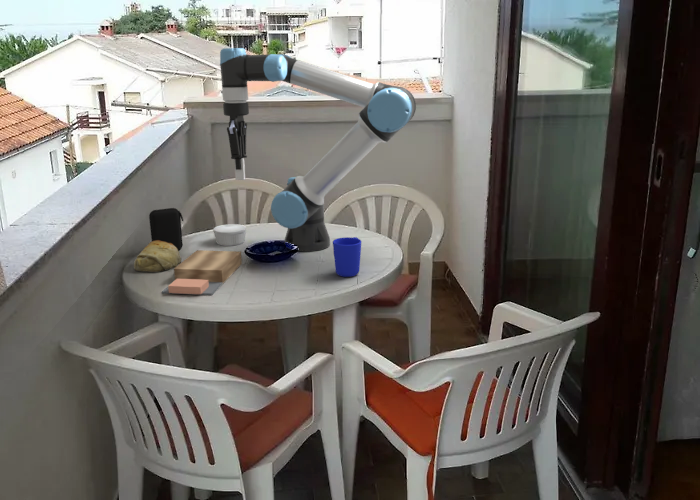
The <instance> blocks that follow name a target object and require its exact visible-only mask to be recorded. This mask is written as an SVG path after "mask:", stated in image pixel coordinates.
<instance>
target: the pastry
mask: <svg viewBox="0 0 700 500" xmlns="http://www.w3.org/2000/svg"><path fill="white" fill-rule="evenodd" d="M180 263H182V258H181V254H180V252H179V251H178V249H177V248H176V247H175V246H174V245H173V244H172V243H167V242H164V241H160V240H156V241H152V240H151V241H150V242H149V243H148V244H147V245H146V246H145V247H144V248H143V249H142V250H141V251H140V253H139V254H138V255H137V256H136V258H135V260H134V262H133V269H134V271H136V272H147V273H151V272H152V273H155V272H156V273H158V272H163V271H166V270H170V269H174V268H175V267H177V266H178V265H179V264H180Z"/></svg>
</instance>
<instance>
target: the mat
mask: <svg viewBox="0 0 700 500" xmlns="http://www.w3.org/2000/svg"><path fill="white" fill-rule="evenodd" d="M223 284H224V283H223V282H209V287H208V288H207V289H206V290H205V291H204V292H203V293H202V294H192V295H193V296H194V295H196V296H197V295H198V296H200V295H201V296H212V295H214V293H216V291H218V290H219V289H220V287H221V286H222V285H223ZM161 294H170V293H169V289H168V286H166V287H165V288H164V289H163V290H162V291H161ZM174 294H175V295H184V294H183V293H172V294H171V295H174Z"/></svg>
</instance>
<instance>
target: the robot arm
mask: <svg viewBox="0 0 700 500" xmlns="http://www.w3.org/2000/svg"><path fill="white" fill-rule="evenodd" d="M219 58H220V59H219V66H220V75H221V79H220V80H221V88H222V89H221V90H220V94H222V101H224V102H223V104H222V106H223V109H222V110H223V115H224V116H226V117H229V122H228V127H226V132H227V134H228V135H227V136H228V141H229V148H230V155H231V157H230V158H231V160H234V162H233V163H234V177H235V180H237V181H244V180H246V166H245V158H246V159H247V158H248V155H247V128H248V124H247V123H246V121H245V118H244V116H248V115H249V114H250V110H249V103H248V102H247V101H248V100H249V91H248V82H273V83H275V82H284V83H288V84H292V85H294V86H298V87H300V88H302V89H303V88H304V89H307V90H310V91H313V92H315V93H319V94H322V95H325V96H328V97H331V98H335V99H337V100H340V101H343V102H347V103H350V104H352V105H355V106H358V107H361V108H362V110H361V111H360V112H359V113H358V121H357V122H356V123H355V124H354V125H353V126H352V127H350V129H349V130H348V131H347V132H346V133H345V134H344V135H343V136H342V138H340V139H339V140H338V141H337V142H336V143H335V144H334V145H333V146H332V147H331V149H329V150H328V152H327V153H325V154H324V155H323V156H322V158H321V159H320V160H319V161H318V162H316V163H315V164H314V165H313V167H312V168H311V169H310V170H309V171H308V172H306V174H305V175H304V176H302V175H297V176H294V177H293V176H292V177H289V178H288V179H287V184H286V187H285V188H284V189H283V190H281V191H280V192H278V193H276V194H275V196H274V198H273V199H272V201H271V204H270V211H271V215H272V218H273V219H274V220H275V222H276V223H277V224H278V225H280V227H282V228H285V229H286V230H287V231H286V234H285V237H284V243H285V242H288V243H291V244H294V245H297V246H298V248H299V251H298V252H315V251H321V250H325V249H327V248H329V247H330V245H331V239H330V238H331V237H330V235H329V232H328V229H327V226H326V224H325V196H326V195H327V194H328V193H329V192H331V190H332V189H333V188H334V187H336V185H337V184H338V183H339V182H340V181H341V180H342V179H343V178H345V176H347V174H348V173H350V172H351V171H352V170H353V169H354V168H355V167H356V166H357V165H358V163H360V162H361V161H362V160H363V159H364V158H365V157H366V156H367V155H368V154H369V153H370V152H371V151H372V150H373V149H374V148H375V147H376V146H377V145H378V144H380V143H385V144H386V143H388V142H389V141H390V140H391V139H392V138H393V137H394V136H395V135H396V134H397V133H398V132H400V131H401V129H402V128H404V127H405V126H406V125H407V124H408V123H409V122H410V121H412V119H413V117H414V116H415V113H416V111H417V110H416V109H417V103H416V99H415V97H414V95H413V94H412V92H411V91H410V90H408V89H407V88H405V87H404V86H397V85H393V84H391V85H390V84H386V83H383V82H379V81H378V82H375V83H372V82H369V81H365V80H362V79H359V78H356V77H353V76H350V75H347V74H343V73H340V72H336V71H334V70H331V69H327V68H325V67H320V66H318V65H315V64H312V63H309V62H305V61H303V60H299V59H295V58H294V57H291V56H289V55H288V54H283V53H277V54H274V53H270V54H247V52H246V49H245V48H243V47H232V48H231V47H229V48H227V47H225V48H221V50H220V52H219Z"/></svg>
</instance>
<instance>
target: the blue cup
mask: <svg viewBox="0 0 700 500" xmlns="http://www.w3.org/2000/svg"><path fill="white" fill-rule="evenodd" d="M332 247H333V257H334V268H335V269H334V270H335V273H336V275H338V276H340V277H344V278H345V277H346V278H348V277H349V278H350V277H354V276H357V275H358V274H359V273H360V269H361V268H360V267H361V266H360V265H361V254H362V252H361V251H362V240H361V239H360V238H358V237H339V238H336V239H334V240H333V241H332Z"/></svg>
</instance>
